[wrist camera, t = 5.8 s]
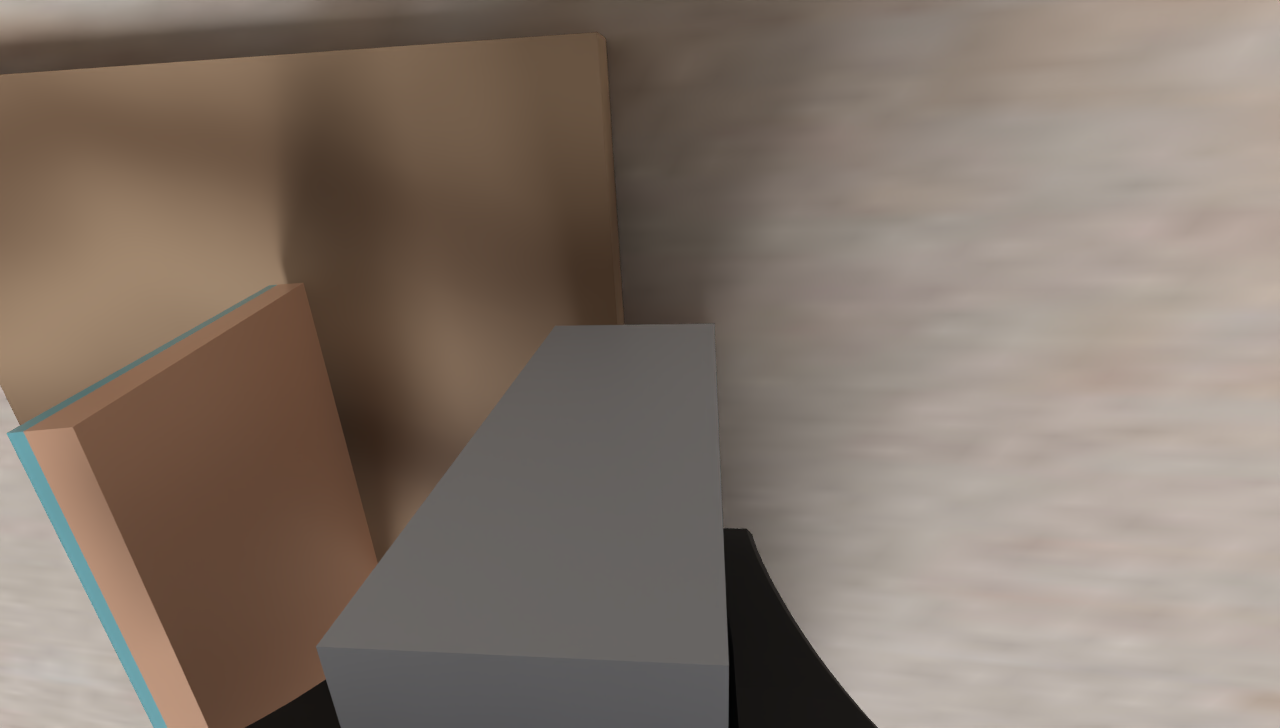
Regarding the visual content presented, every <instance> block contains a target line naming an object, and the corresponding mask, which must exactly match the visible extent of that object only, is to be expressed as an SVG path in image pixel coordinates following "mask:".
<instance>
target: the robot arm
mask: <svg viewBox="0 0 1280 728" xmlns="http://www.w3.org/2000/svg"><path fill="white" fill-rule="evenodd" d="M723 538H724V561H725V585H726V609H727V633H728V656H729V720H728V728H878V727H877V726H876V725H875V724H874V723H873V722H872V721H871V720H870V719H869V718H868V717H867V716H866V715H865V713H864V712H863V711H862V710H861V709H860V708H859V706H858V705H857V704H856V703H855V702H854V700H853V699H852V698H851V697H850V696H849V694H848V693H847V692H846V691H845V690H844V688H843V687H842V686H841V685H840V683H839V682H838V681H837V680H836V678H835V677H834V676H833V674H832V673H831V672H830V671H829V669H828V668H827V667H826V665H825V664H824V663H823V661H822V660H821V658H820V657H819V656H818V654H817V653H816V651H815V650H814V649H813V647H812V646H811V644H810V643H809V641H808V640H807V638H806V637H805V635H804V634H803V632H802V631H801V629H800V628H799V626H798V625H797V623H796V622H795V620H794V618H793V617H792V615H791V614H790V612H789V610H788V608H787V607H786V605H785V603H784V601H783V600H782V598H781V596H780V595H779V593H778V591H777V589H776V588H775V586H774V584H773V582H772V580H771V578H770V576H769V574H768V572H767V570H766V568H765V566H764V564H763V562H762V559H761V557H760V555H759V553H758V550H757V548H756V545H755V542H754V539H753V536H752V534H751V533H750V532H749V531H748V530H747V529H728V528H723ZM245 728H341V726H340V723H339V720H338V717H337V713H336V710H335V707H334V704H333V701H332V697H331V694H330V691H329V688H328V684H327V681H326V680H324V681H322V682H321V683H319V684H318V685H316V686H315V687H313V688H312V689H310V690H308V691H307V692H305V693H304V694H302V695H301V696H299V697H298V698H296V699H294V700H293V701H291V702H289V703H288V704H286V705H284V706H282V707H281V708H279V709H277V710H275V711H274V712H272V713H270V714H268V715H267V716H265V717H263V718H261V719H260V720H258V721H256V722H254V723H252V724H250V725H248V726H247V727H245Z"/></svg>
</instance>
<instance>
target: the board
mask: <svg viewBox="0 0 1280 728" xmlns="http://www.w3.org/2000/svg"><path fill="white" fill-rule="evenodd" d="M292 283H304V287H305V290H306V294H307V298H308V302H309V306H310V309H311V313H312V317H313V321H314V324H315V328H316V332H317V336H318V339H319V343H320V347H321V351H322V355H323V358H324V362H325V366H326V370H327V373H328V377H329V381H330V385H331V389H332V392H333V396H334V400H335V404H336V407H337V411H338V415H339V419H340V422H341V426H342V430H343V434H344V438H345V441H346V445H347V449H348V453H349V456H350V460H351V464H352V468H353V472H354V475H355V479H356V483H357V487H358V490H359V494H360V498H361V502H362V506H363V509H364V513H365V517H366V521H367V524H368V528H369V532H370V536H371V539H372V543H373V547H374V551H375V555H376V558H377V562H378V563H379V561H380V560H381V559H382V557H383V556H384V555H385V553H386V552H387V551H388V549H389V548H390V547H391V545H392V544H393V543H394V541H395V540H396V539H397V537H398V536H399V535H400V533H401V532H402V531H403V529H404V528H405V527H406V525H407V524H408V523H409V521H410V520H411V518H412V517H413V516H414V514H415V513H416V512H417V510H418V509H419V508H420V506H421V505H422V504H423V502H424V501H425V500H426V498H427V497H428V496H429V494H430V493H431V492H432V490H433V489H434V488H435V486H436V485H437V484H438V482H439V481H440V480H441V478H442V477H443V476H444V474H445V473H446V472H447V470H448V469H449V468H450V466H451V465H452V464H453V462H454V461H455V460H456V458H457V457H458V456H459V454H460V453H461V451H462V450H463V449H464V447H465V446H466V445H467V443H468V442H469V441H470V439H471V438H472V437H473V435H474V434H475V433H476V431H477V430H478V429H479V427H480V426H481V425H482V423H483V422H484V421H485V419H486V418H487V417H488V415H489V414H490V413H491V411H492V410H493V409H494V407H495V406H496V405H497V403H498V402H499V401H500V399H501V398H502V397H503V395H504V394H505V393H506V391H507V390H508V388H509V387H510V386H511V384H512V383H513V382H514V380H515V379H516V378H517V376H518V375H519V374H520V372H521V371H522V370H523V368H524V367H525V366H526V364H527V363H528V362H529V360H530V359H531V358H532V356H533V355H534V354H535V352H536V351H537V350H538V348H539V347H540V346H541V344H542V343H543V342H544V340H545V339H546V338H547V336H548V335H549V334H550V332H551V331H552V330H553V328H554V327H555V326H578V325H624V313H623V298H622V282H621V267H620V251H619V236H618V220H617V205H616V189H615V174H614V158H613V143H612V127H611V112H610V96H609V81H608V65H607V50H606V38H605V37H603V36H602V35H600V34H599V33H598V32H591V33H577V34H563V35H549V36H535V37H521V38H507V39H493V40H479V41H465V42H451V43H437V44H423V45H409V46H395V47H381V48H367V49H353V50H339V51H325V52H310V53H296V54H282V55H268V56H254V57H240V58H226V59H212V60H198V61H184V62H170V63H156V64H142V65H128V66H114V67H100V68H86V69H72V70H58V71H44V72H30V73H16V74H1V75H0V385H1V387H2V389H3V391H4V393H5V396H6V398H7V400H8V402H9V404H10V406H11V408H12V410H13V412H14V414H15V416H16V418H17V420H18V422H19V424H20V425H22V424H24V423H26V422H27V421H29V420H31V419H33V418H34V417H36V416H38V415H40V414H42V413H43V412H45V411H47V410H49V409H50V408H52V407H54V406H56V405H58V404H59V403H61V402H63V401H65V400H66V399H68V398H70V397H72V396H73V395H75V394H77V393H79V392H81V391H82V390H84V389H86V388H88V387H89V386H91V385H93V384H95V383H97V382H98V381H100V380H102V379H104V378H105V377H107V376H109V375H111V374H113V373H114V372H116V371H118V370H120V369H121V368H123V367H125V366H127V365H129V364H130V363H132V362H134V361H136V360H137V359H139V358H141V357H143V356H145V355H146V354H148V353H150V352H152V351H153V350H155V349H157V348H159V347H161V346H162V345H164V344H166V343H168V342H169V341H171V340H173V339H175V338H177V337H178V336H180V335H182V334H184V333H185V332H187V331H189V330H191V329H193V328H194V327H196V326H198V325H200V324H201V323H203V322H205V321H207V320H208V319H210V318H212V317H214V316H216V315H217V314H219V313H221V312H223V311H224V310H226V309H228V308H230V307H232V306H233V305H235V304H237V303H239V302H240V301H242V300H244V299H246V298H248V297H249V296H251V295H253V294H255V293H256V292H258V291H260V290H262V289H264V288H265V287H267V286H269V285H279V284H292Z"/></svg>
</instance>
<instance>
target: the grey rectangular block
mask: <svg viewBox="0 0 1280 728" xmlns="http://www.w3.org/2000/svg"><path fill="white" fill-rule="evenodd" d="M316 649H317V652H318V655H319V658H320V662H321V665H322V668H323V671H324V675H325V678H326V681H327V684H328V688H329V691H330V694H331V697H332V701H333V704H334V707H335V710H336V713H337V717H338V720H339V723H340V726H341V728H728V720H729V656H728V633H727V609H726V585H725V561H724V538H723V514H722V490H721V466H720V443H719V419H718V395H717V372H716V348H715V324H648V325H578V326H555V327H554V328H553V330H552V331H551V332H550V334H549V335H548V336H547V338H546V339H545V340H544V342H543V343H542V344H541V346H540V347H539V348H538V350H537V351H536V352H535V354H534V355H533V356H532V358H531V359H530V360H529V362H528V363H527V364H526V366H525V367H524V368H523V370H522V371H521V372H520V374H519V375H518V376H517V378H516V379H515V380H514V382H513V383H512V384H511V386H510V387H509V388H508V390H507V391H506V393H505V394H504V395H503V397H502V398H501V399H500V401H499V402H498V403H497V405H496V406H495V407H494V409H493V410H492V411H491V413H490V414H489V415H488V417H487V418H486V419H485V421H484V422H483V423H482V425H481V426H480V427H479V429H478V430H477V431H476V433H475V434H474V435H473V437H472V438H471V439H470V441H469V442H468V443H467V445H466V446H465V447H464V449H463V450H462V451H461V453H460V454H459V456H458V457H457V458H456V460H455V461H454V462H453V464H452V465H451V466H450V468H449V469H448V470H447V472H446V473H445V474H444V476H443V477H442V478H441V480H440V481H439V482H438V484H437V485H436V486H435V488H434V489H433V490H432V492H431V493H430V494H429V496H428V497H427V498H426V500H425V501H424V502H423V504H422V505H421V506H420V508H419V509H418V510H417V512H416V513H415V514H414V516H413V517H412V518H411V520H410V521H409V523H408V524H407V525H406V527H405V528H404V529H403V531H402V532H401V533H400V535H399V536H398V537H397V539H396V540H395V541H394V543H393V544H392V545H391V547H390V548H389V549H388V551H387V552H386V553H385V555H384V556H383V557H382V559H381V560H380V561H379V563H378V564H377V565H376V567H375V568H374V569H373V571H372V572H371V573H370V575H369V576H368V577H367V579H366V580H365V581H364V583H363V584H362V586H361V587H360V588H359V590H358V591H357V592H356V594H355V595H354V596H353V598H352V599H351V600H350V602H349V603H348V604H347V606H346V607H345V608H344V610H343V611H342V612H341V614H340V615H339V616H338V618H337V619H336V620H335V622H334V623H333V624H332V626H331V627H330V628H329V630H328V631H327V632H326V634H325V635H324V636H323V638H322V639H321V640H320V642H319V643H318V644H317V646H316Z"/></svg>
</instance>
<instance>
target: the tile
mask: <svg viewBox="0 0 1280 728" xmlns="http://www.w3.org/2000/svg"><path fill="white" fill-rule="evenodd" d="M7 435H8V437H9V439H10V441H11V443H12V445H13V447H14V449H15V451H16V453H17V455H18V457H19V459H20V461H21V463H22V465H23V467H24V469H25V471H26V473H27V475H28V477H29V479H30V481H31V483H32V485H33V487H34V489H35V491H36V493H37V495H38V497H39V499H40V501H41V503H42V505H43V507H44V509H45V511H46V513H47V515H48V517H49V519H50V521H51V523H52V525H53V527H54V529H55V531H56V533H57V535H58V537H59V539H60V541H61V543H62V545H63V547H64V549H65V551H66V553H67V555H68V557H69V559H70V561H71V563H72V565H73V567H74V569H75V571H76V573H77V575H78V577H79V579H80V581H81V583H82V585H83V587H84V589H85V591H86V593H87V595H88V597H89V599H90V601H91V603H92V605H93V607H94V609H95V611H96V613H97V615H98V617H99V619H100V621H101V623H102V625H103V627H104V629H105V631H106V633H107V635H108V637H109V639H110V641H111V643H112V645H113V647H114V649H115V651H116V653H117V655H118V657H119V659H120V661H121V663H122V665H123V667H124V669H125V671H126V673H127V675H128V677H129V679H130V681H131V683H132V685H133V687H134V689H135V691H136V693H137V695H138V697H139V699H140V701H141V703H142V705H143V707H144V709H145V711H146V713H147V715H148V717H149V719H150V721H151V723H152V725H153V727H154V728H245V727H247V726H248V725H250V724H252V723H254V722H256V721H258V720H260V719H261V718H263V717H265V716H267V715H268V714H270V713H272V712H274V711H275V710H277V709H279V708H281V707H282V706H284V705H286V704H288V703H289V702H291V701H293V700H294V699H296V698H298V697H299V696H301V695H302V694H304V693H305V692H307V691H308V690H310V689H312V688H313V687H315V686H316V685H318V684H319V683H321V682H322V681H324V680H326V678H325V675H324V671H323V668H322V665H321V662H320V658H319V655H318V652H317V649H316V646H317V644H318V643H319V642H320V640H321V639H322V638H323V636H324V635H325V634H326V632H327V631H328V630H329V628H330V627H331V626H332V624H333V623H334V622H335V620H336V619H337V618H338V616H339V615H340V614H341V612H342V611H343V610H344V608H345V607H346V606H347V604H348V603H349V602H350V600H351V599H352V598H353V596H354V595H355V594H356V592H357V591H358V590H359V588H360V587H361V586H362V584H363V583H364V581H365V580H366V579H367V577H368V576H369V575H370V573H371V572H372V571H373V569H374V568H375V567H376V565H377V564H378V562H377V558H376V555H375V551H374V547H373V543H372V539H371V536H370V532H369V528H368V524H367V521H366V517H365V513H364V509H363V506H362V502H361V498H360V494H359V490H358V487H357V483H356V479H355V475H354V472H353V468H352V464H351V460H350V456H349V453H348V449H347V445H346V441H345V438H344V434H343V430H342V426H341V422H340V419H339V415H338V411H337V407H336V404H335V400H334V396H333V392H332V389H331V385H330V381H329V377H328V373H327V370H326V366H325V362H324V358H323V355H322V351H321V347H320V343H319V339H318V336H317V332H316V328H315V324H314V321H313V317H312V313H311V309H310V306H309V302H308V298H307V294H306V290H305V287H304V283H292V284H279V285H269V286H267V287H265V288H264V289H262V290H260V291H258V292H256V293H255V294H253V295H251V296H249V297H248V298H246V299H244V300H242V301H240V302H239V303H237V304H235V305H233V306H232V307H230V308H228V309H226V310H224V311H223V312H221V313H219V314H217V315H216V316H214V317H212V318H210V319H208V320H207V321H205V322H203V323H201V324H200V325H198V326H196V327H194V328H193V329H191V330H189V331H187V332H185V333H184V334H182V335H180V336H178V337H177V338H175V339H173V340H171V341H169V342H168V343H166V344H164V345H162V346H161V347H159V348H157V349H155V350H153V351H152V352H150V353H148V354H146V355H145V356H143V357H141V358H139V359H137V360H136V361H134V362H132V363H130V364H129V365H127V366H125V367H123V368H121V369H120V370H118V371H116V372H114V373H113V374H111V375H109V376H107V377H105V378H104V379H102V380H100V381H98V382H97V383H95V384H93V385H91V386H89V387H88V388H86V389H84V390H82V391H81V392H79V393H77V394H75V395H73V396H72V397H70V398H68V399H66V400H65V401H63V402H61V403H59V404H58V405H56V406H54V407H52V408H50V409H49V410H47V411H45V412H43V413H42V414H40V415H38V416H36V417H34V418H33V419H31V420H29V421H27V422H26V423H24V424H22V425H20V426H18V427H17V428H15V429H13V430H11V431H10V432H8V433H7Z"/></svg>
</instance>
